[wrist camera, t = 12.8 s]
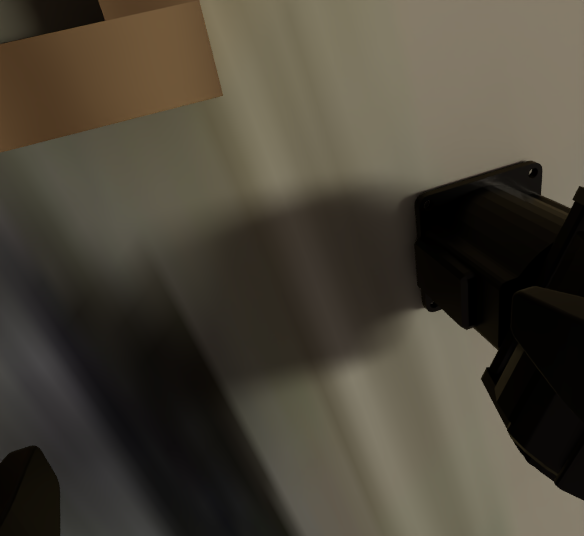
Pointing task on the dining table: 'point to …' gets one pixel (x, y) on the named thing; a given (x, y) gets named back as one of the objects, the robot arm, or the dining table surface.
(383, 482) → the dining table surface
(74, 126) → the hole block
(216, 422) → the dining table surface
